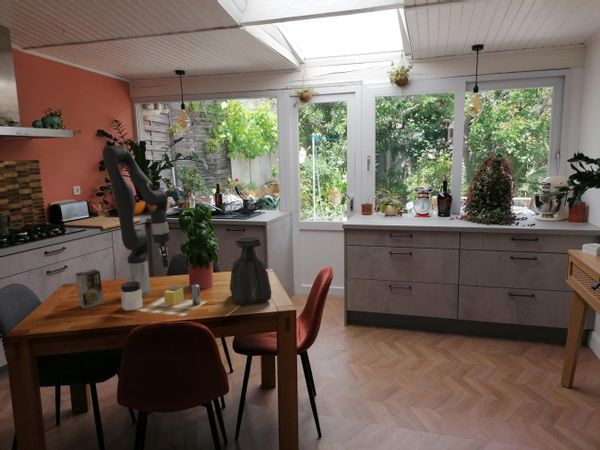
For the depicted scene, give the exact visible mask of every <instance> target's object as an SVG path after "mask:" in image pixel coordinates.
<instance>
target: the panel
mask: <svg viewBox="0 0 600 450" xmlns="http://www.w3.org/2000/svg"><path fill="white" fill-rule="evenodd" d="M200 303H201V304H200V305H196V306H194V305H193V303H192V299H185V298H184V300H183V301H181V302H179V303H177V304H175V305H166V304H165V299H164V296H162V297H160V298H159V299H156V300H154V301H152V302H151V303H148V304H147V305H145V306H142V307H140V308H139V309H137V310H136V312H142V313H143V312H144V313H153V314H154V313H155V314H163V315H171V316H180V317H182V316H183V317H186V316H187V315H188V314H190V313H192V312H194V311H195V310H196V309H198V308H200V307H202V306H203V305H204V304H206V303H207V301H205V300H200Z"/></svg>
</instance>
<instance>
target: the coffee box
mask: <svg viewBox="0 0 600 450" xmlns="http://www.w3.org/2000/svg"><path fill="white" fill-rule="evenodd" d="M75 278H76V284H77V285H76V286H77V292H78V293H77V294H78V300H79V301H78V303H79V306H80V307H82V308H83V309H86V308H87V309H88V308H90V307H95V306H98V305H99V306H100V305H102V304H104V295H103V288H102V280H101V279H102V278H101V271H99V270H98V269H96V268H95V269H94V268H93V269H91V270H86V271H80V272H76V273H75Z"/></svg>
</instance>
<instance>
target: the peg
mask: <svg viewBox="0 0 600 450" xmlns="http://www.w3.org/2000/svg"><path fill="white" fill-rule="evenodd" d="M190 286H191V300H192V303H193V305H194V306H196V305H200V304H201V303H200V301H201V290H200V288H201V287H200V284H192V285H190Z"/></svg>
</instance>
